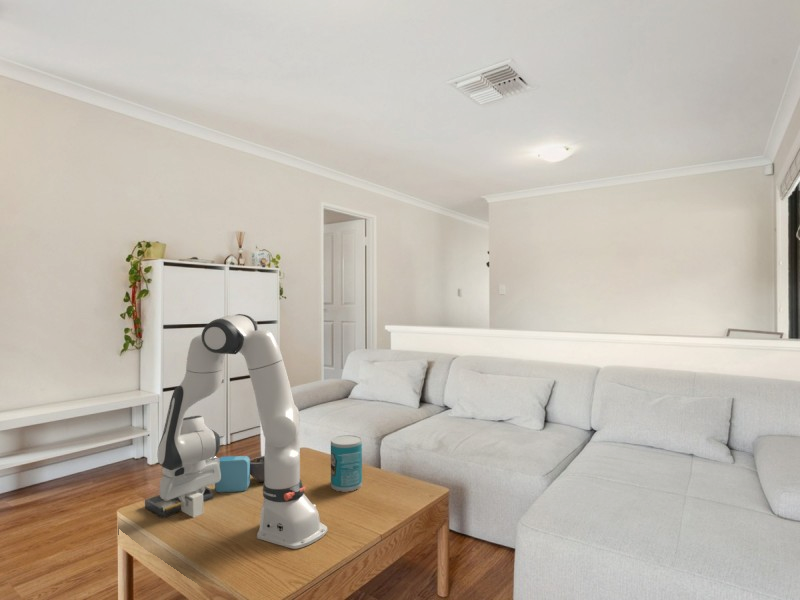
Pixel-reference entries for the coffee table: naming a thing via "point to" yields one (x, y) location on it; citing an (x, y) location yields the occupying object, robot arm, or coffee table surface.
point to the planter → (257, 468)
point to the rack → (170, 504)
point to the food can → (346, 463)
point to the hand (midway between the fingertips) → (191, 503)
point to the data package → (234, 474)
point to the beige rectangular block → (193, 504)
